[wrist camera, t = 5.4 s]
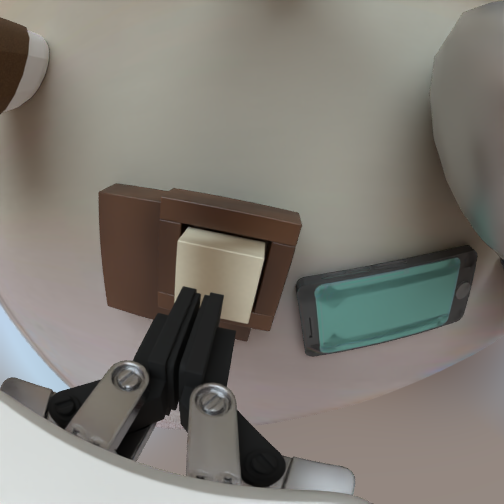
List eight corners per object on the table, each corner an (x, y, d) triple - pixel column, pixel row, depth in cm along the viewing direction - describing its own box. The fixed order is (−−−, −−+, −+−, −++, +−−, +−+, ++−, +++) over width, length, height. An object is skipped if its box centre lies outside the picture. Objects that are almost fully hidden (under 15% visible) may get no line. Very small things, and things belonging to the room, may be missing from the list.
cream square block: (265, 241, 14) (264, 258, 12) (250, 304, 15) (248, 324, 14) (188, 226, 13) (177, 240, 12) (182, 289, 15) (173, 308, 14)
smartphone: (463, 321, 18) (306, 359, 20) (457, 312, 19) (305, 348, 21) (480, 248, 15) (295, 285, 17) (472, 241, 16) (294, 275, 18)
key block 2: (296, 201, 16) (302, 224, 13) (261, 324, 21) (258, 363, 17) (116, 169, 16) (81, 184, 12) (119, 290, 20) (96, 320, 17)
